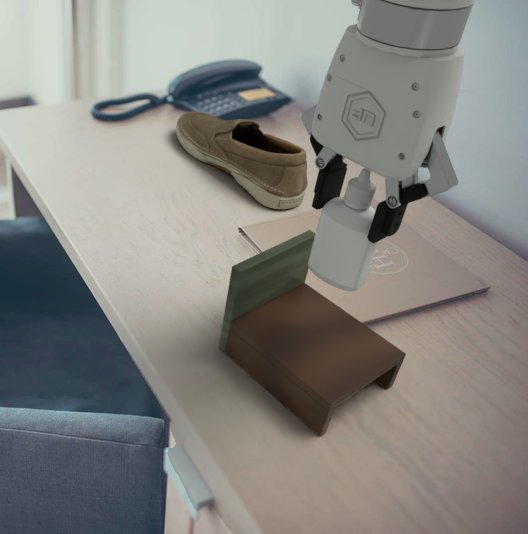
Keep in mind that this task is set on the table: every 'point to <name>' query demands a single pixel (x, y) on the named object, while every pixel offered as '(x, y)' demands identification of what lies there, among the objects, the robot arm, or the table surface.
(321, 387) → the shelf
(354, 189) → the eye dropper bottle
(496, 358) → the table surface
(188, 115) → the slip on shoe
